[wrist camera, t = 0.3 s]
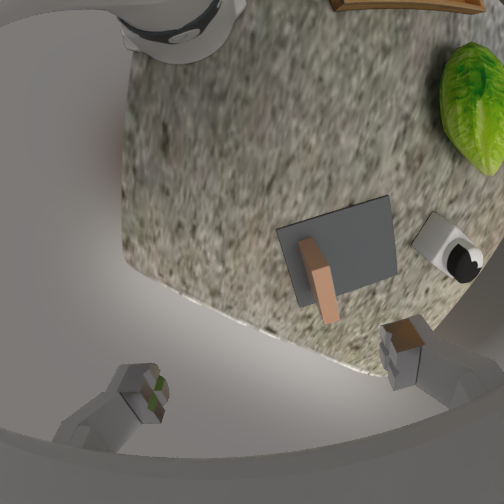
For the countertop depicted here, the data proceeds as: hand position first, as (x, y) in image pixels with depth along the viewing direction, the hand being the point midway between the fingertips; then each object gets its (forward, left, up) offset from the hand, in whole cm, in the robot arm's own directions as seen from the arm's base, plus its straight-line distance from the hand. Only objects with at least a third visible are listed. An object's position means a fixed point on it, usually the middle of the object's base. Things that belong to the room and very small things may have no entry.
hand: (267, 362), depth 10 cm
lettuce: (-1, +40, -39) cm, 56 cm away
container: (+23, +31, -39) cm, 55 cm away
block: (+20, +6, -38) cm, 44 cm away
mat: (+20, +12, -39) cm, 45 cm away
